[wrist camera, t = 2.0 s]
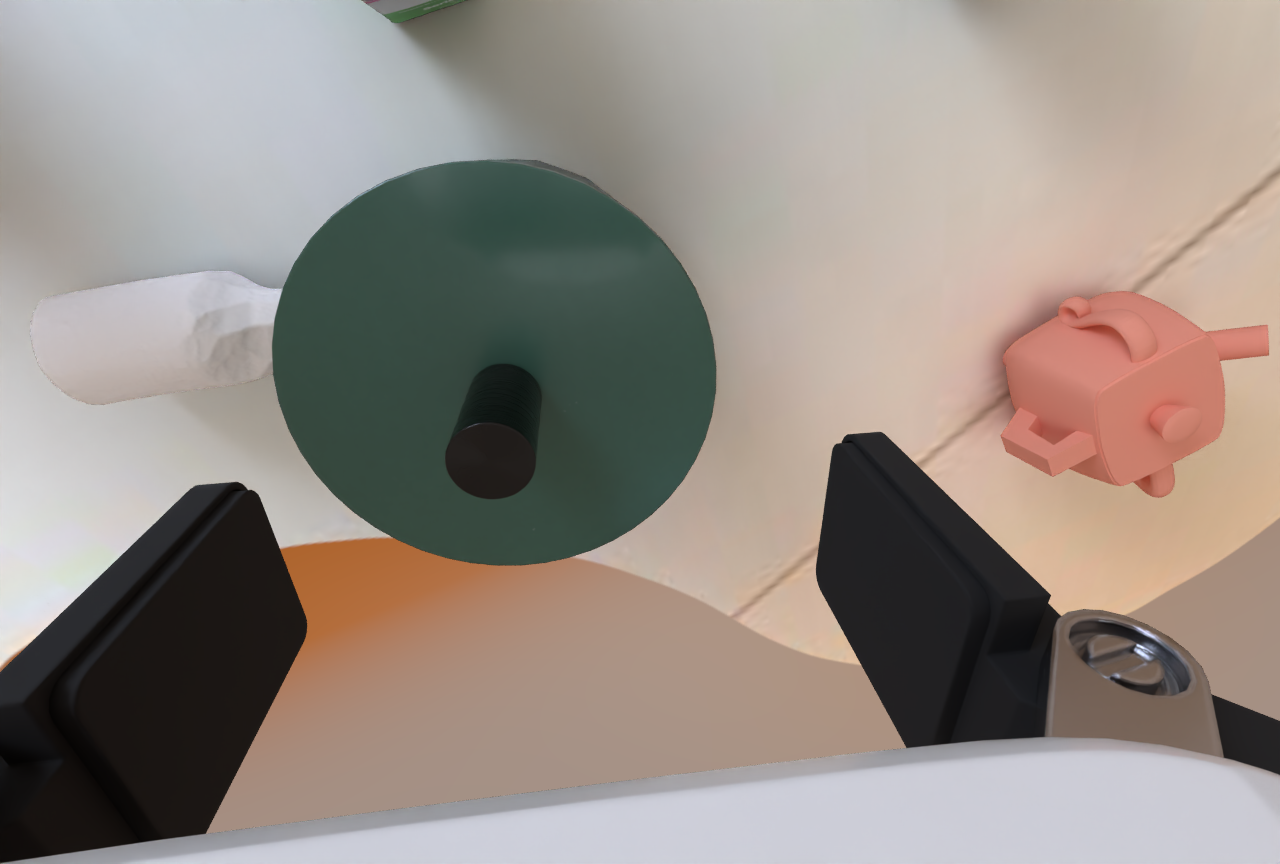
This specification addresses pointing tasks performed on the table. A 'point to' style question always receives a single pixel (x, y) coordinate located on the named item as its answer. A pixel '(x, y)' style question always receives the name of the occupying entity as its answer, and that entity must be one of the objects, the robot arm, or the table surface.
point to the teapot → (1120, 389)
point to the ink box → (408, 8)
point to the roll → (156, 336)
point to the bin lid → (494, 363)
